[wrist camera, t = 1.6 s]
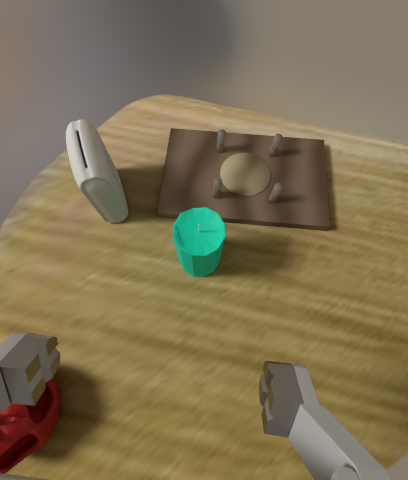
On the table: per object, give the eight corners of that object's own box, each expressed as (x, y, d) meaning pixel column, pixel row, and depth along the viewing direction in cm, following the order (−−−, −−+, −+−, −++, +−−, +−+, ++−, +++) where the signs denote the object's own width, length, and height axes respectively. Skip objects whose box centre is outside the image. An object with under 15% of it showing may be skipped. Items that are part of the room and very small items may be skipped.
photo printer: (92, 173, 45) (54, 115, 34) (117, 166, 46) (88, 107, 34) (105, 227, 42) (68, 184, 30) (132, 219, 42) (106, 173, 31)
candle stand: (320, 146, 47) (334, 122, 42) (326, 230, 42) (344, 215, 37) (171, 134, 48) (168, 109, 43) (158, 216, 42) (152, 199, 37)
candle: (224, 243, 41) (232, 207, 30) (214, 282, 39) (219, 257, 28) (185, 234, 41) (180, 194, 30) (174, 271, 39) (163, 243, 28)
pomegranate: (-28, 440, 32) (-115, 477, 24) (15, 352, 36) (-48, 357, 27) (47, 469, 31) (-16, 520, 22) (84, 376, 34) (42, 389, 26)
